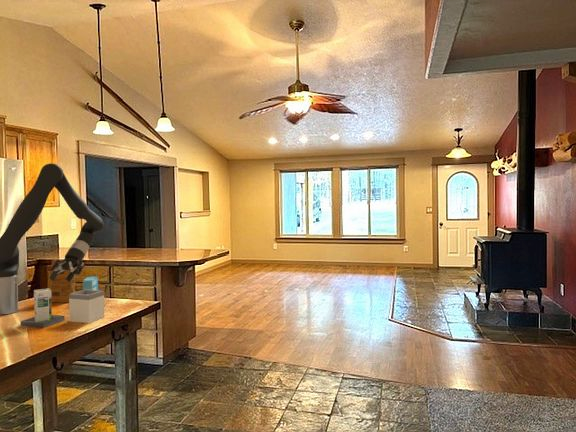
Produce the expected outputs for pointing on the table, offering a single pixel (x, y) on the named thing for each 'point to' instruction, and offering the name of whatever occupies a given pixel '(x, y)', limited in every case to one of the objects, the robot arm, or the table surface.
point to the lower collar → (32, 323)
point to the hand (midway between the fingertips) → (59, 280)
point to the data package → (90, 283)
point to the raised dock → (86, 306)
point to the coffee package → (61, 286)
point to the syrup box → (42, 305)
